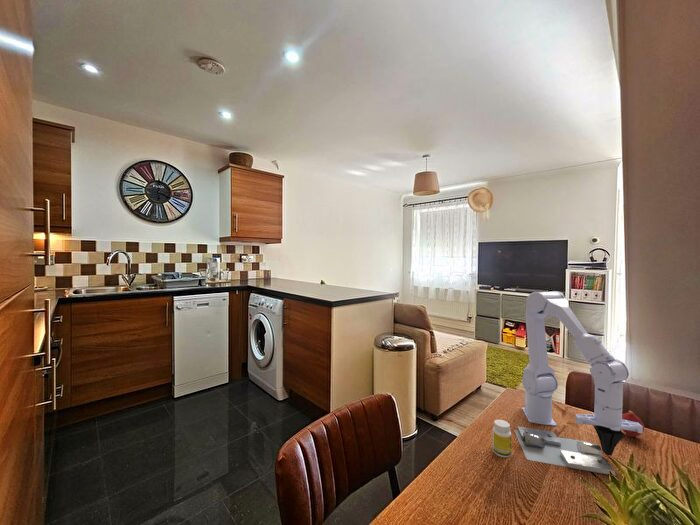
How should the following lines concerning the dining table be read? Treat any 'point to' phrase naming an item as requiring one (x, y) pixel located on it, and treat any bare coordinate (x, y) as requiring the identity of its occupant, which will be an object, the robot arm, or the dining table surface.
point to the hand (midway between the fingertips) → (606, 452)
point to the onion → (632, 417)
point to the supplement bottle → (501, 438)
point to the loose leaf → (587, 458)
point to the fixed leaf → (538, 437)
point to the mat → (549, 451)
